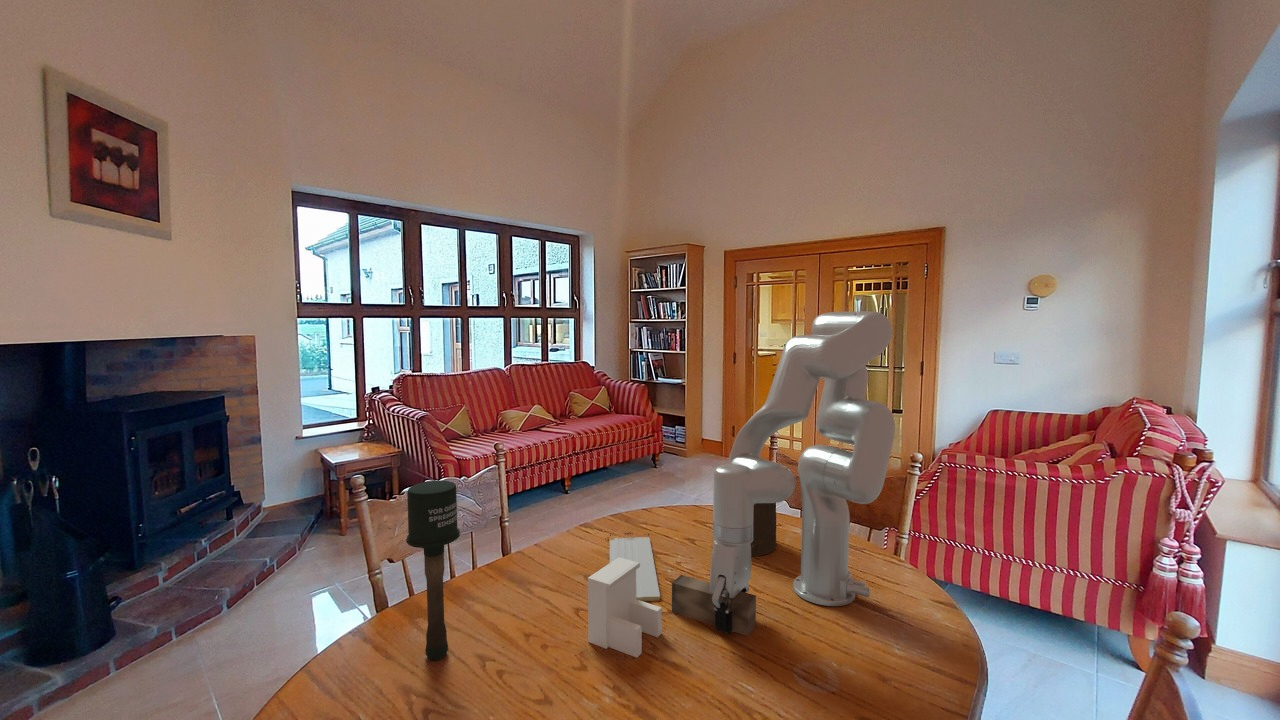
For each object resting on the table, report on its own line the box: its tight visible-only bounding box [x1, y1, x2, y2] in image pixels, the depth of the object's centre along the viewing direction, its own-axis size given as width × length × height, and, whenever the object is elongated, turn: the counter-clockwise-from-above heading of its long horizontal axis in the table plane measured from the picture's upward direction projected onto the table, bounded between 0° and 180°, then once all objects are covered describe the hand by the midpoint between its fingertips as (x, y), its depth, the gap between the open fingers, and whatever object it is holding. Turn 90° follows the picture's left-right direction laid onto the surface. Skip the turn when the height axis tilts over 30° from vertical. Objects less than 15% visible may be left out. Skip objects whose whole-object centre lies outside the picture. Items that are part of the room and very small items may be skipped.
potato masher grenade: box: [405, 480, 461, 661], centre depth 93 cm, size 8×9×30 cm
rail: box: [671, 574, 757, 637], centre depth 105 cm, size 16×4×6 cm, turn 58°
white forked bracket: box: [587, 557, 663, 658], centre depth 99 cm, size 10×10×12 cm
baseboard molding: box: [604, 532, 661, 602], centre depth 128 cm, size 31×3×12 cm
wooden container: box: [751, 503, 777, 557], centre depth 140 cm, size 15×15×22 cm
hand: (732, 620), depth 103 cm, fingers open, 7 cm apart
